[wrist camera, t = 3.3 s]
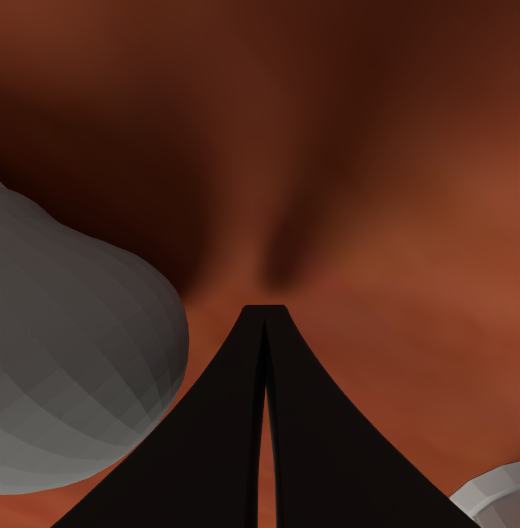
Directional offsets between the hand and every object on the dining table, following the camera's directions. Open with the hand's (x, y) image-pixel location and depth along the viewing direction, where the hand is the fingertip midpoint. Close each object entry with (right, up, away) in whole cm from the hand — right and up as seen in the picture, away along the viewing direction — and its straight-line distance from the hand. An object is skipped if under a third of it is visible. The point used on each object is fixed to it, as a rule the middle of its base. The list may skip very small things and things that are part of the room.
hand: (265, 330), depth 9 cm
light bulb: (-10, +5, -2) cm, 11 cm away
